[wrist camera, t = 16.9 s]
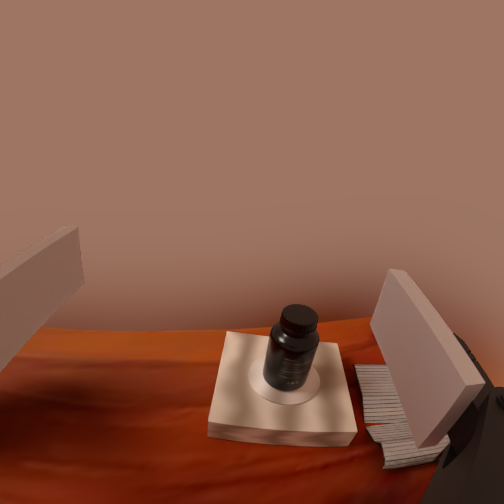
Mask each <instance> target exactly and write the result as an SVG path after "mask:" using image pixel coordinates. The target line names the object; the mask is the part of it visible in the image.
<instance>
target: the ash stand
mask: <svg viewBox="0 0 504 504" xmlns="http://www.w3.org/2000/svg"><path fill="white" fill-rule="evenodd" d="M268 341H269V337H267V336H258V335H251V334H243V333H236V332H229V331H227V334H226V339H225V344H224V348H223V353H222V358H221V362H220V367H219V371H218V376H217V381H216V386H215V390H214V395H213V400H212V404H211V409H210V414H209V419H208V435H207V437H212V438H219V439H226V440H233V441H241V442H250V443H260V444H271V445H287V446H316V447H334V446H348V445H349V444H350V442H351V441H352V439H353V438H354V436H355V435H356V433H357V432H358V431H357V427H356V422H355V417H354V413H353V408H352V403H351V399H350V395H349V390H348V386H347V382H346V377H345V373H344V369H343V365H342V361H341V357H340V353H339V349H338V345H337V343H326V342H319V344H318V348H317V351H316V354H315V357H314V360H313V363H312V366H311V369H310V372H309V375H308V377H307V380H306V382H305V384H304V385H303V386H302V387H301V388H299V389H297V390H294V391H280V390H277V389H274V388H273V387H271V386H270V385H269V384H268V383H267V382H266V381H265V379H264V377H263V367H264V361H265V356H266V351H267V346H268Z"/></svg>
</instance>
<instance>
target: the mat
mask: <svg viewBox="0 0 504 504" xmlns="http://www.w3.org/2000/svg"><path fill="white" fill-rule="evenodd" d="M352 366H354V369H355V372H356V377H357V379H358V382H359V387H360V391H361V397H362V405H363V415H364V423H395V424H386V425H375V426H369V427H365V428H366V430H367V432H368V433H369V435H370V437H371V438H372V440H373V441H374V442H376V443H379V444H380V445H381V447H382V450H383V456H384V466H383V468H382V469H384V470H388V469H397V468H405V467H410V466H416V465H422V464H426V463H430V462H432V461H433V460H434V458H435V457H436V456H437V455H438V454H439V453H440V452H441V451H442V450H443V449H444V448H445V447H446V446H447V445H448V444H449V442H450V440H449V437H448V435H447V434H446V435H445V437H444V438H443V439H442V440H441V441H440V442H439V443H438V445H437V446H432V447H426V448H420V449H417V448H416V444H415V441H414V438H413V435H412V432H411V429H410V426H409V424H408V421H407V418H406V415H405V412H404V409H403V407H402V404H401V401H400V398H399V396H398V393H397V390H396V388H395V385H394V382H393V380H392V377H391V375H390V372H389V369H388V367H387V365H362V364H361V365H352ZM440 459H441V458H440ZM440 459H438V460H437V461H439V460H440Z"/></svg>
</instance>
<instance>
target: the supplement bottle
mask: <svg viewBox="0 0 504 504" xmlns="http://www.w3.org/2000/svg"><path fill="white" fill-rule="evenodd" d="M317 322H318V315H317V313H316V312H315V311H314V310H313V309H311V308H310V307H308V306H305V305H301V304H291V305H288V306H286V307H285V308H284V309H283V311H282V314H281V318H280V321H279V322H277V323H276V324H275V325H274V326H273V327H272V329H271V332H270V336H269V341H268V346H267V351H266V356H265V361H264V367H263V377H264V379H265V381H266V382H267V383H268V384H269V385H270V386H271V387H273V388H274V389H277V390H280V391H294V390H297V389H299V388H301V387H302V386H303V385H304V384H305V382H306V380H307V377H308V375H309V372H310V369H311V366H312V363H313V360H314V357H315V354H316V351H317V348H318V344H319V334H318V332H317V330H316V328H317Z"/></svg>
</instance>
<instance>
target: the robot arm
mask: <svg viewBox="0 0 504 504" xmlns="http://www.w3.org/2000/svg"><path fill="white" fill-rule="evenodd" d="M83 284H84V277H83V269H82V262H81V252H80V243H79V231H78V227H74V226H66V225H65V226H64V227H62V228H60V229H58V230H57V231H55V232H53V233H51V234H50V235H48V236H46V237H45V238H43V239H42V240H40V241H38V242H37V243H35V244H33V245H32V246H31V247H29V248H27V249H26V250H24V251H22V252H21V253H19V254H18V255H16V256H15V257H13V258H12V259H10V260H9V261H7V262H6V263H4V264H3V265H1V266H0V372H1V371H2V370H3V369H4V367H5V366H6V365H7V364H8V363H9V362H10V360H11V359H12V358H13V357H14V356H15V355H16V354H17V352H18V351H19V350H20V349H21V348H22V347H23V346H24V345H25V343H26V342H27V341H28V340H29V339H30V338H31V337H32V336H33V335H34V334H35V333H36V332H37V330H38V329H39V328H40V327H41V326H42V325H43V324H44V323H45V322H46V321H47V320H48V319H49V318H50V317H51V316H52V314H54V313H55V312H56V311H57V310H58V309H59V307H61V305H62V304H63V303H65V302H66V301H67V300H68V298H69V297H71V296H72V295H73V294H74V293H75V292H76V291H77V290H78V289H79V288H80V287H81V286H82V285H83ZM370 326H371V328H372V331H373V333H374V335H375V338H376V340H377V342H378V345H379V347H380V350H381V352H382V355H383V357H384V359H385V362H386V364H387V367H388V369H389V372H390V375H391V377H392V380H393V382H394V385H395V388H396V390H397V393H398V396H399V398H400V401H401V404H402V407H403V409H404V412H405V415H406V418H407V421H408V424H409V426H410V429H411V432H412V435H413V438H414V441H415V444H416V448H417V449H420V448H426V447H432V446H437V445H438V443H439V442H440V441H441V440H442V439H443V438H444V437H445V435H446V434H447V435H448V437H449V440H450V442H449V444H448V445H447V446H446V447H445V448H444V449H443V450H442V451H441V452H440V453H439V454H438V455H437V456H436V457H435V458H434V460H433V461H432V463H435V462H436V461H437V460H438V459H440V458H441V459H440V461H439V463H438V466H437V468H436V470H435V472H434V475H433V477H432V479H431V481H430V483H429V485H428V487H427V489H426V491H425V493H424V495H423V497H422V499H421V501H420V503H419V504H504V387H494V386H493V384H492V383H491V381H490V380H489V378H488V376H487V375H486V373H485V372H484V370H483V369H482V367H481V366H480V364H479V363H478V361H476V358H475V357H474V355H473V354H472V353H471V351H470V349H469V348H468V347H467V345H466V344H465V342H464V341H463V340H462V339H460V338H459V337H458V336H457V335H455V334H454V333H452V332H451V330H450V329H449V328H448V326H447V325H446V323H445V322H444V321H443V319H442V318H441V317H440V315H439V314H438V313H437V311H436V310H435V308H434V307H433V306H432V305H431V303H430V302H429V301H428V299H427V298H426V297H425V296H424V294H423V293H422V292H421V291H420V289H419V288H418V287H417V285H416V284H415V283H414V282H413V280H412V279H411V278H410V277H409V275H408V274H407V273H406V272H405V271H404V270H397V269H389V270H388V273H387V276H386V279H385V282H384V285H383V288H382V291H381V294H380V297H379V300H378V303H377V306H376V309H375V312H374V315H373V317H372V320H371V322H370Z"/></svg>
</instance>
